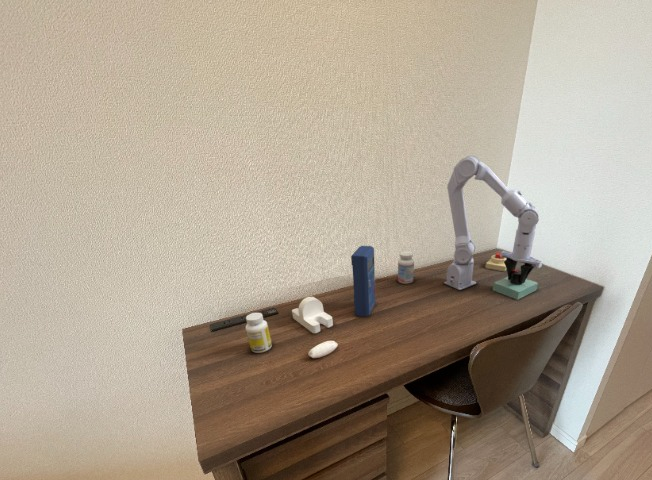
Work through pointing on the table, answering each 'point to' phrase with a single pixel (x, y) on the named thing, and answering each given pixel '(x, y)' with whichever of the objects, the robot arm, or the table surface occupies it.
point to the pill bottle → (405, 268)
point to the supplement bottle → (258, 333)
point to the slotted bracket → (312, 315)
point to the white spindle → (323, 349)
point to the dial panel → (514, 288)
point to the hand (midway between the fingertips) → (516, 281)
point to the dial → (515, 277)
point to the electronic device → (363, 280)
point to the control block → (496, 264)
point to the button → (498, 256)
